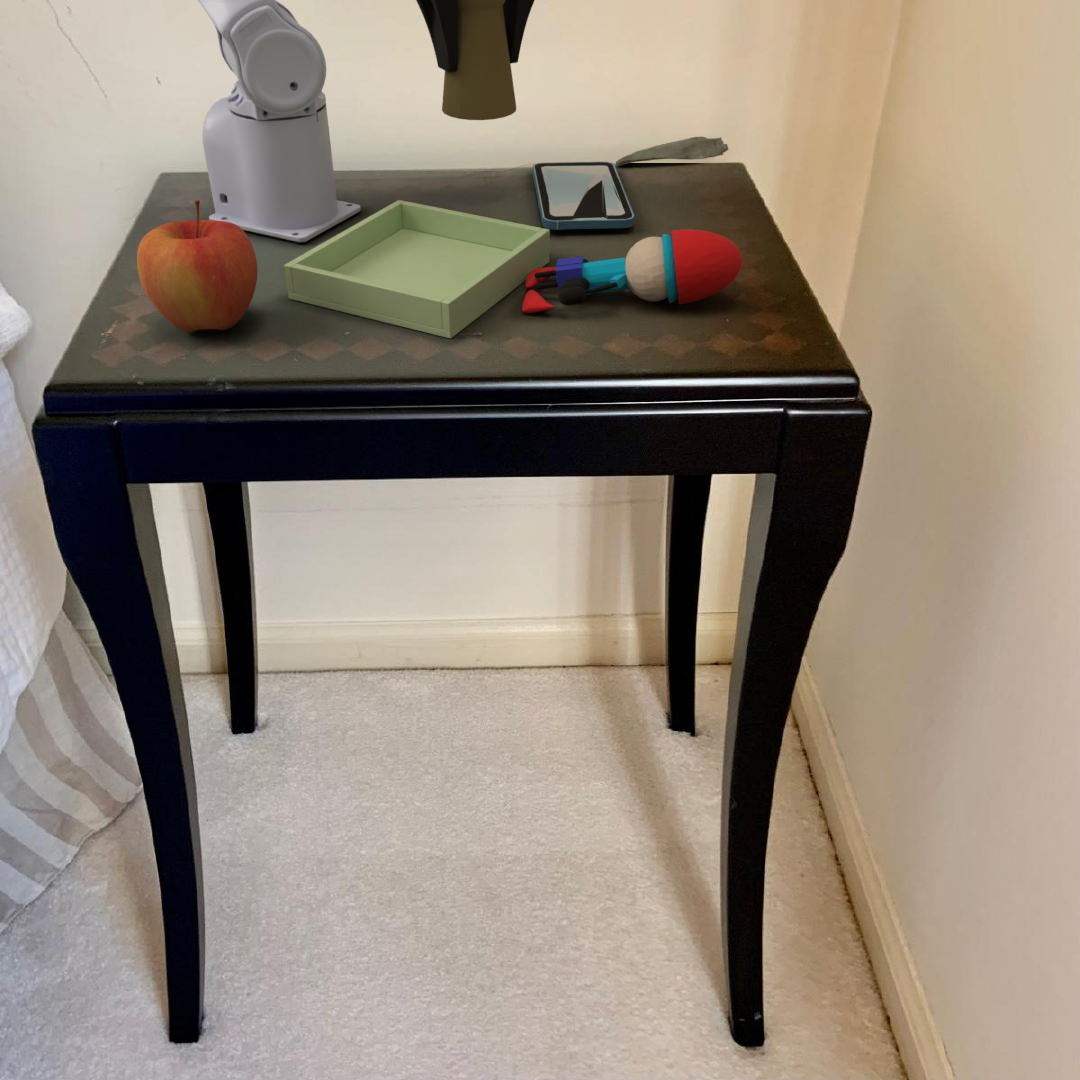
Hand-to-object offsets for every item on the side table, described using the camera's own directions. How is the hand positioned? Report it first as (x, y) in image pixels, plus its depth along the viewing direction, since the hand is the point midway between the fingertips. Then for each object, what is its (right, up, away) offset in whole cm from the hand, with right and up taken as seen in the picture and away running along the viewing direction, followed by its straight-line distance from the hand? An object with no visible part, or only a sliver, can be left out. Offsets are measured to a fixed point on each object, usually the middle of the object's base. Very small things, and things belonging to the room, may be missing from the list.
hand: (477, 64), depth 86 cm
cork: (0, -3, +2) cm, 4 cm away
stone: (+18, -3, +12) cm, 21 cm away
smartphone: (+8, -9, +5) cm, 13 cm away
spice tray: (-3, -19, -8) cm, 21 cm away
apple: (-17, -24, -14) cm, 32 cm away
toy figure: (+11, -21, -10) cm, 26 cm away
